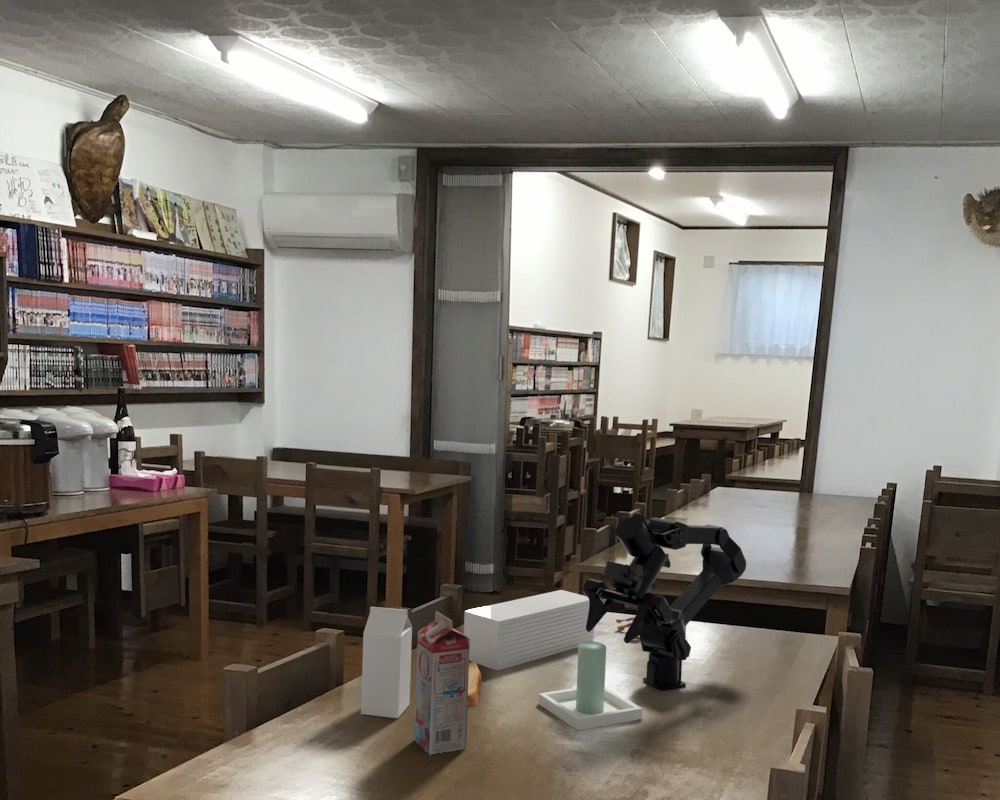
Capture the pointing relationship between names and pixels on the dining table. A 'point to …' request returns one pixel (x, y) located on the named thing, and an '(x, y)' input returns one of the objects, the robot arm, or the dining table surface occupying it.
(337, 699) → the dining table surface
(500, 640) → the stack of papers
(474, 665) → the slice of bread
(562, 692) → the tray
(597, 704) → the grey-green post
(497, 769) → the dining table surface
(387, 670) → the milk carton
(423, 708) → the juice carton
